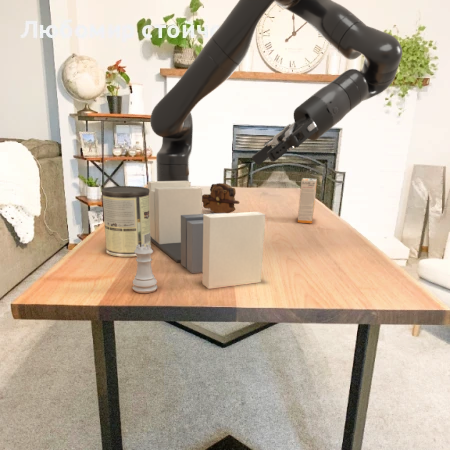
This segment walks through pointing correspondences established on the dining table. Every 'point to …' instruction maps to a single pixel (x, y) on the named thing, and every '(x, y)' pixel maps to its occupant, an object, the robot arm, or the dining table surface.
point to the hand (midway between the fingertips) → (261, 159)
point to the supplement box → (307, 200)
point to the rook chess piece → (144, 270)
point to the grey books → (192, 242)
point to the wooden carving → (220, 198)
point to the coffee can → (126, 219)
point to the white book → (232, 248)
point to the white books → (171, 213)
